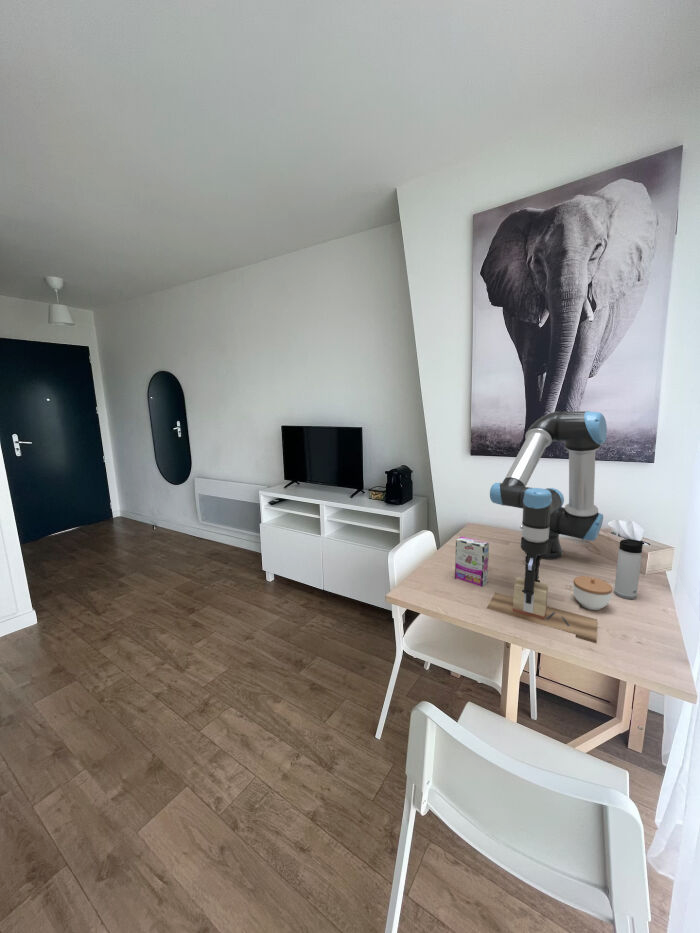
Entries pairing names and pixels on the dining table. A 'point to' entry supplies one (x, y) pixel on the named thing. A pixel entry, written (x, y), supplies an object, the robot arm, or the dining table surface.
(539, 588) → the block
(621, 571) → the travel mug
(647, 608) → the dining table surface
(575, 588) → the lidded jar
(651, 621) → the dining table surface
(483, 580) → the candy bar box
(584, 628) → the board
